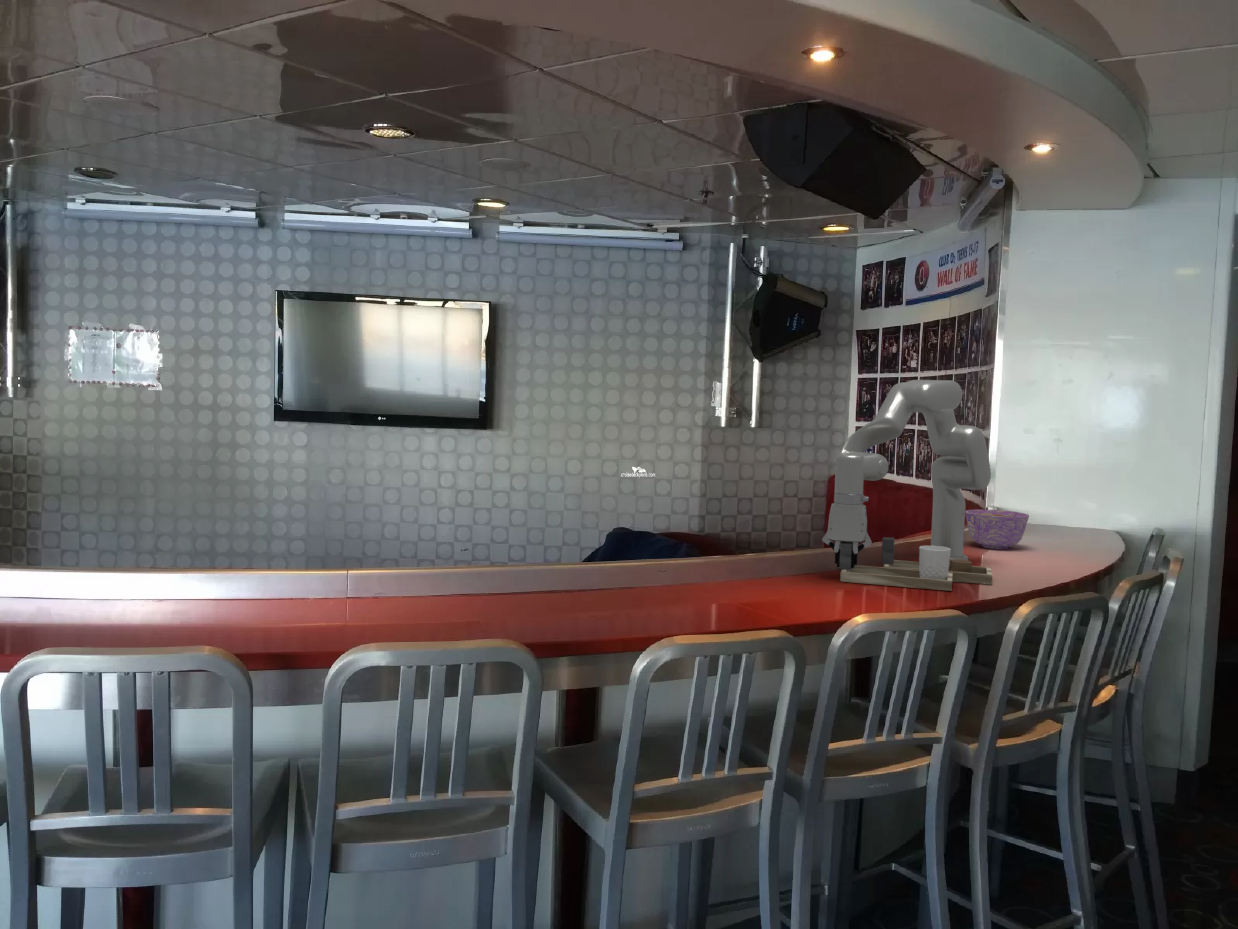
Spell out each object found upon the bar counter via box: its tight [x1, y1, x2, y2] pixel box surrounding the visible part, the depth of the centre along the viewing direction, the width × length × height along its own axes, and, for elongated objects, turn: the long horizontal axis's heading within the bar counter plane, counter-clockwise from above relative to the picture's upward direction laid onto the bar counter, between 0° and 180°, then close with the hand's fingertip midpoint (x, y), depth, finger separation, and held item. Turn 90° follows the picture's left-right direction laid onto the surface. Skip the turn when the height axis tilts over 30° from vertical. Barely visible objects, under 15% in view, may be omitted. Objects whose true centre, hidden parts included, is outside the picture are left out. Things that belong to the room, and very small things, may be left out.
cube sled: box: [881, 536, 993, 585], centre depth 270 cm, size 13×29×10 cm, turn 71°
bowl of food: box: [965, 509, 1030, 550], centre depth 326 cm, size 20×20×12 cm
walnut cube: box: [949, 559, 973, 573], centre depth 268 cm, size 5×5×5 cm
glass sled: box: [838, 541, 953, 592], centre depth 260 cm, size 13×29×10 cm, turn 71°
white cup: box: [918, 545, 951, 580], centre depth 257 cm, size 8×8×10 cm
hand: (845, 566), depth 264 cm, fingers closed on glass sled, 3 cm apart
